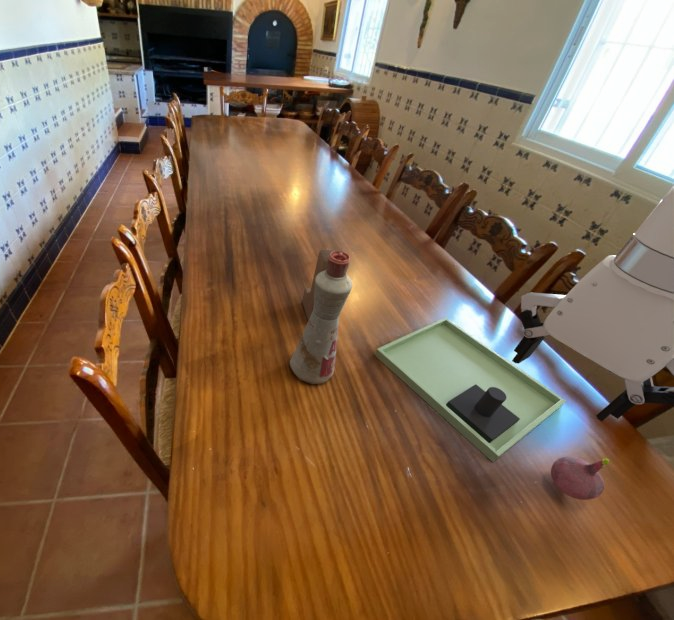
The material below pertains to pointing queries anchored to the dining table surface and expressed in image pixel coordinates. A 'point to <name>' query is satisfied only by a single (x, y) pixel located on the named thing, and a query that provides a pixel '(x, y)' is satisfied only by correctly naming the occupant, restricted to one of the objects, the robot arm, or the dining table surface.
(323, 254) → the wooden block
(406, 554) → the dining table surface
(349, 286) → the bottle
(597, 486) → the vegetable
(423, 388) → the pale green flat tray
